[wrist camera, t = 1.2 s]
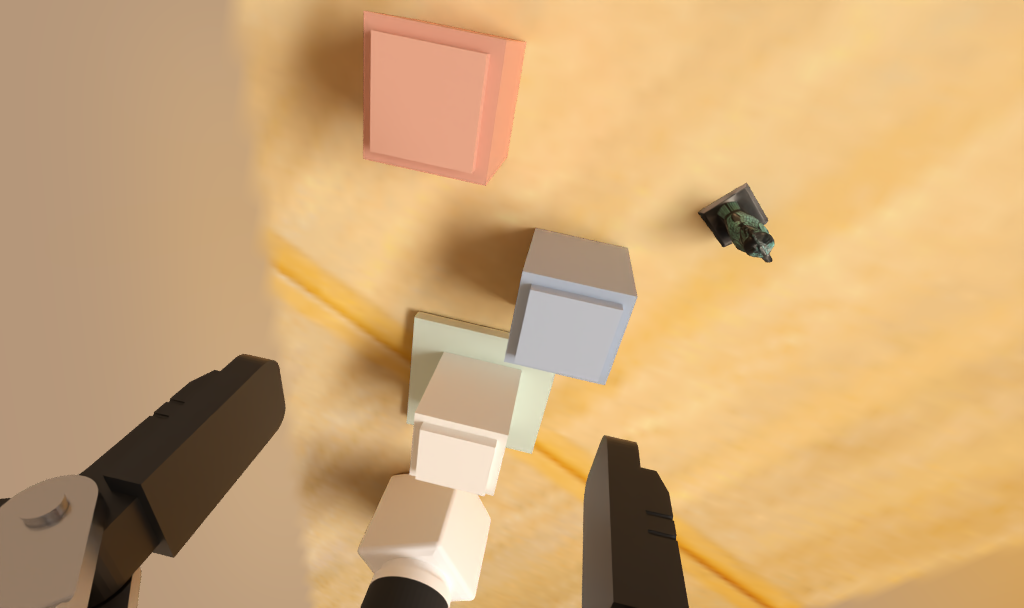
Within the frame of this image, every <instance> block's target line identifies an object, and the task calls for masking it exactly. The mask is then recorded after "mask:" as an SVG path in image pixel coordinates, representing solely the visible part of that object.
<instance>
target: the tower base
mask: <svg viewBox="0 0 1024 608" xmlns="http://www.w3.org/2000/svg"><path fill="white" fill-rule="evenodd" d="M509 335H510V332H506V331H501V330H497V329H493V328H488V327H484V326H480V325H476V324H471V323H467V322H463V321H458V320H454V319H450V318H446V317H441V316H437V315H433V314H428V313H424V312H420V311H418V313H417V314H416V316H415V317H414V330H413V344H412V357H411V371H410V384H409V398H408V411H407V423H408V424H412V425H414V428H413V439H412V451H411V463H410V474H409V475H412V476H415V479H417V480H421V481H425V482H429V483H433V484H437V485H441V486H445V487H449V488H453V489H457V490H461V491H465V492H469V493H473V494H477V495H481V496H485V494H489V495H493V496H494V492H495V488H496V484H497V480H498V476H499V472H500V467H501V463H502V459H503V455H504V451H505V447H506V448H510V449H514V450H518V451H522V452H527V453H531V454H532V451H533V448H534V445H535V441H536V438H537V434H538V431H539V427H540V424H541V421H542V417H543V414H544V410H545V407H546V404H547V400H548V397H549V393H550V390H551V387H552V383H553V380H554V376H555V373H551V372H546V371H542V370H538V369H533V368H529V367H525V366H521V365H516V364H512V363H508V362H504V359H505V354H506V349H507V344H508V339H509Z"/></svg>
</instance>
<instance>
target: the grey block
mask: <svg viewBox="0 0 1024 608" xmlns="http://www.w3.org/2000/svg"><path fill="white" fill-rule="evenodd" d="M636 299H637V292H636V287H635V282H634V277H633V272H632V267H631V262H630V257H629V251H628V248H625V247H620V246H616V245H611V244H606V243H602V242H597V241H593V240H588V239H584V238H579V237H574V236H570V235H565V234H561V233H556V232H552V231H547V230H543V229H538V228H535V232H534V235H533V238H532V242H531V245H530V248H529V252H528V255H527V258H526V262H525V265H524V268H523V272H522V277H521V281H520V286H519V291H518V296H517V301H516V306H515V310H514V315H513V320H512V325H511V330H510V335H509V339H508V344H507V349H506V354H505V359H504V362H508V363H512V364H516V365H521V366H525V367H529V368H533V369H538V370H542V371H546V372H551V373H555V374H559V375H563V376H568V377H572V378H576V379H581V380H585V381H589V382H593V383H598V384H602V385H605V384H606V381H607V378H608V375H609V373H610V370H611V367H612V365H613V362H614V359H615V356H616V354H617V351H618V348H619V346H620V343H621V340H622V337H623V335H624V332H625V329H626V327H627V324H628V321H629V318H630V316H631V313H632V310H633V308H634V305H635V302H636Z"/></svg>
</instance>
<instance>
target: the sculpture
mask: <svg viewBox="0 0 1024 608" xmlns="http://www.w3.org/2000/svg"><path fill="white" fill-rule="evenodd" d="M698 214H699V215H700V216H701V218H702V219H703V220H704V221H705V223H706V225H707V226H708V227H709V228H710V230H711V231H712V232H713V234H714V235H715V237H716V239H717V240H718V241H719V243H720V244H721V245H722V247H726V246H728V245H730V244H732V243H733V244H734V245H735V246H736V248H737V249H738V250H741V251H743V252H746V253H747V254H748V255H749V256H752V257H759V258H762V259H763V260H764V261H765V262H772V258H771V256H770V254H769V253H770V252H771V250H772V248H773V247H774V239H773V238H772V236H771V235H770V234H769V232H768V230H767V229H766V228H765V226H764V225H765V224H766V223H767V222H768V218H767V217H766V215H765V214H764V212H763V210H762V208H761V206H760V205H759V203H758V201H757V200H756V198H755V196H754V195H753V193H752V191H751V189H750V187H749V186H748V184H747V183H745V184H744V185H742V186H740V187H738V188H736V189H735V190H733V191H731V192H730V193H728V194H726V195H725V196H723V197H721V198H720V199H718V200H716V201H715V202H713V203H711V204H710V205H708V206H707V207H705V208H703V209H702V210H701V211H699V212H698Z"/></svg>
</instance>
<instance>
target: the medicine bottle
mask: <svg viewBox="0 0 1024 608" xmlns="http://www.w3.org/2000/svg"><path fill="white" fill-rule="evenodd" d="M409 474H410V473H408V474H400V475H393V476H392V477H391V478H390V480H389V483H388V485H387V487H386V489H385V491H384V493H383V496H382V498H381V500H380V502H379V504H378V506H377V509H376V511H375V513H374V515H373V517H372V519H371V522H370V524H369V526H368V528H367V530H366V532H365V535H364V537H363V539H362V541H361V543H360V545H359V548H358V554H359V555H360V556H361V558H362V559H363V560H364V561H365V563H366V564H367V565H368V567H369V568H370V569H371V570H372V572H373V573H374V576H373V578H372V581H371V583H370V586H369V588H368V590H367V593H366V595H365V598H364V600H363V603H362V605H361V608H449V606H450V602H451V601H471V600H473V599H474V598H475V595H476V590H477V585H478V581H479V576H480V571H481V566H482V561H483V556H484V552H485V547H486V542H487V537H488V532H489V528H490V523H491V518H490V516H489V514H488V512H487V511H486V509H485V507H484V505H483V503H482V501H481V500H480V498H479V496H478V495H477V494H473V493H469V492H465V491H461V490H457V489H453V488H449V487H445V486H441V485H437V484H433V483H429V482H425V481H421V480H417V479H415V476H412V475H409Z"/></svg>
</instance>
